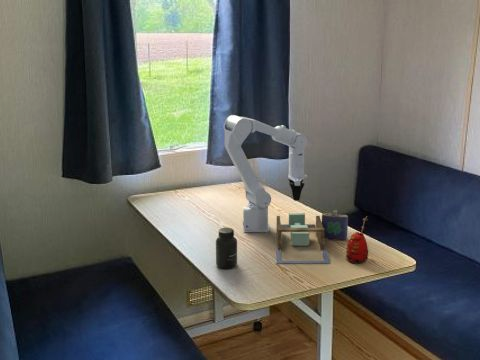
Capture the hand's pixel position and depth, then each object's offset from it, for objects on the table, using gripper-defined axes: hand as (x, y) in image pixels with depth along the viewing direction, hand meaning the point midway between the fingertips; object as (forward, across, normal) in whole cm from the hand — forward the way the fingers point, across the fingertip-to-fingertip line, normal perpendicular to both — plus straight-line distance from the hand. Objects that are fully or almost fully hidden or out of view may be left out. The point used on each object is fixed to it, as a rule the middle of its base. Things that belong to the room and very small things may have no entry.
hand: (296, 198), depth 205 cm
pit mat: (+9, -7, 0) cm, 12 cm away
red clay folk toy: (+10, -36, -18) cm, 41 cm away
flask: (+10, -18, -12) cm, 24 cm away
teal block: (+9, -15, 0) cm, 17 cm away
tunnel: (+9, -20, 0) cm, 22 cm away
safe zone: (+9, -32, 0) cm, 34 cm away
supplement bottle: (+10, -40, +24) cm, 47 cm away
